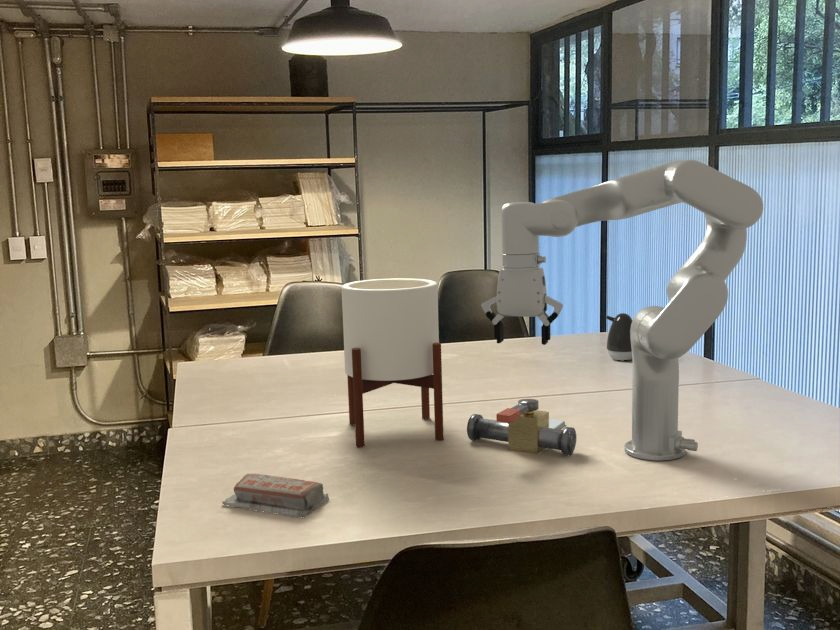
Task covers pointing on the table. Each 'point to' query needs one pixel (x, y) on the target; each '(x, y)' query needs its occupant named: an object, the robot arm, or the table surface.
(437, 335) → the plant pot with stand
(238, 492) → the packaged product
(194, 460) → the table surface
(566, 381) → the table surface
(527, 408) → the valve lever
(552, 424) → the hard drive
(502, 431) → the pipe and valve body
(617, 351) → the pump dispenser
